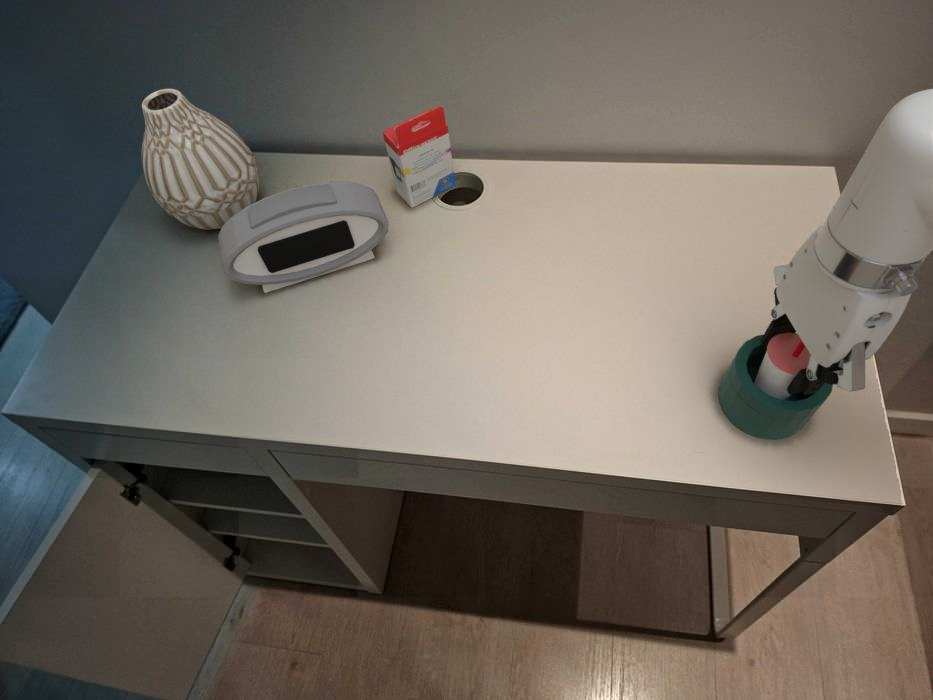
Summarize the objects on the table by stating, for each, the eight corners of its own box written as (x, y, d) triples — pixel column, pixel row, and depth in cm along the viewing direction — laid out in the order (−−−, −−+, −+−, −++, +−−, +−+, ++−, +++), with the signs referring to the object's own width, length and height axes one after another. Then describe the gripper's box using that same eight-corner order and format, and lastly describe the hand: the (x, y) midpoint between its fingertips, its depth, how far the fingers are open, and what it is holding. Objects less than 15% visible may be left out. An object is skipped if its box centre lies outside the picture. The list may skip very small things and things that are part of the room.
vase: (262, 166, 102) (211, 54, 86) (280, 226, 94) (227, 114, 77) (170, 195, 100) (99, 86, 84) (180, 259, 91) (103, 151, 75)
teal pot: (783, 359, 73) (805, 326, 67) (823, 430, 67) (851, 400, 62) (705, 374, 73) (720, 342, 67) (739, 447, 67) (759, 418, 61)
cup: (764, 424, 67) (805, 368, 57) (731, 388, 70) (765, 328, 60) (801, 403, 68) (848, 344, 58) (768, 369, 71) (807, 307, 61)
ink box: (440, 170, 98) (428, 88, 86) (456, 186, 95) (446, 104, 83) (395, 193, 96) (376, 112, 83) (411, 210, 93) (393, 129, 81)
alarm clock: (243, 304, 85) (203, 241, 75) (238, 274, 89) (198, 210, 78) (397, 255, 88) (379, 188, 77) (386, 228, 91) (368, 160, 81)
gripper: (982, 320, 43) (865, 429, 59) (856, 170, 53) (784, 297, 68) (883, 339, 43) (791, 444, 58) (775, 185, 53) (720, 309, 68)
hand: (788, 364), depth 63 cm, fingers closed on cup, 5 cm apart
